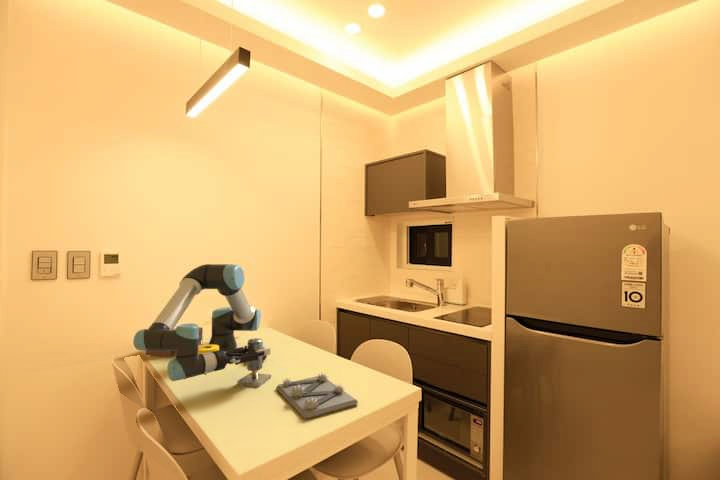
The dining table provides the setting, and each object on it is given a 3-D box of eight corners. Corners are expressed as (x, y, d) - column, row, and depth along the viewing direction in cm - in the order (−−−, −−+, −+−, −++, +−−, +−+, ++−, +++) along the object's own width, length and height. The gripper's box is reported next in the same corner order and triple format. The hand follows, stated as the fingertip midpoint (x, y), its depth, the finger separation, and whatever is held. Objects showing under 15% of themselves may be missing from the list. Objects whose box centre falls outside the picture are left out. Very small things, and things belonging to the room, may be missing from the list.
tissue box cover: (180, 342, 203) (181, 326, 203) (202, 344, 200) (202, 327, 200) (145, 356, 177) (146, 337, 178) (169, 358, 175) (170, 338, 175)
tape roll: (198, 372, 154) (199, 351, 154) (193, 366, 162) (193, 346, 162) (221, 367, 160) (221, 347, 161) (215, 362, 168) (215, 343, 168)
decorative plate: (359, 406, 123) (359, 387, 123) (304, 422, 111) (305, 401, 111) (322, 379, 148) (322, 363, 148) (274, 390, 136) (275, 372, 137)
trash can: (253, 364, 148) (253, 337, 149) (265, 366, 147) (265, 338, 148) (243, 370, 141) (244, 341, 141) (255, 372, 140) (256, 342, 140)
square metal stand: (250, 376, 150) (250, 353, 151) (270, 378, 148) (271, 355, 148) (237, 384, 140) (237, 360, 141) (259, 387, 138) (259, 362, 138)
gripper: (202, 365, 138) (254, 353, 155) (223, 377, 125) (277, 363, 141) (203, 346, 138) (254, 336, 155) (224, 357, 125) (278, 345, 142)
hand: (265, 349), depth 148 cm, fingers closed on trash can, 6 cm apart
